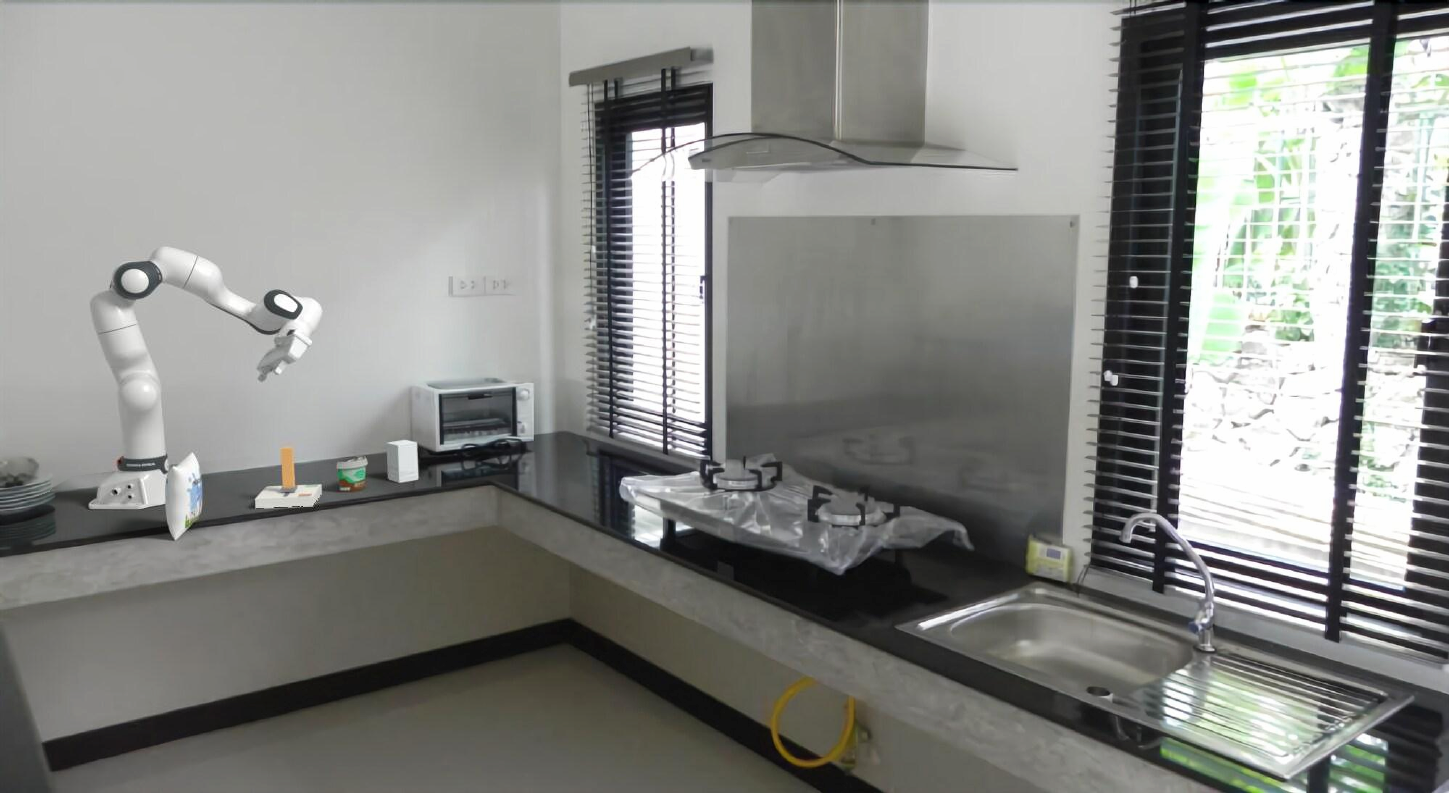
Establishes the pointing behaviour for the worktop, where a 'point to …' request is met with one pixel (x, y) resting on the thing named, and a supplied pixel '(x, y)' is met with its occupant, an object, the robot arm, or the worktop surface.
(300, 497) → the white flat block
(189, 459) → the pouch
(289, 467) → the handle
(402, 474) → the supplement box
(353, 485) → the food container
